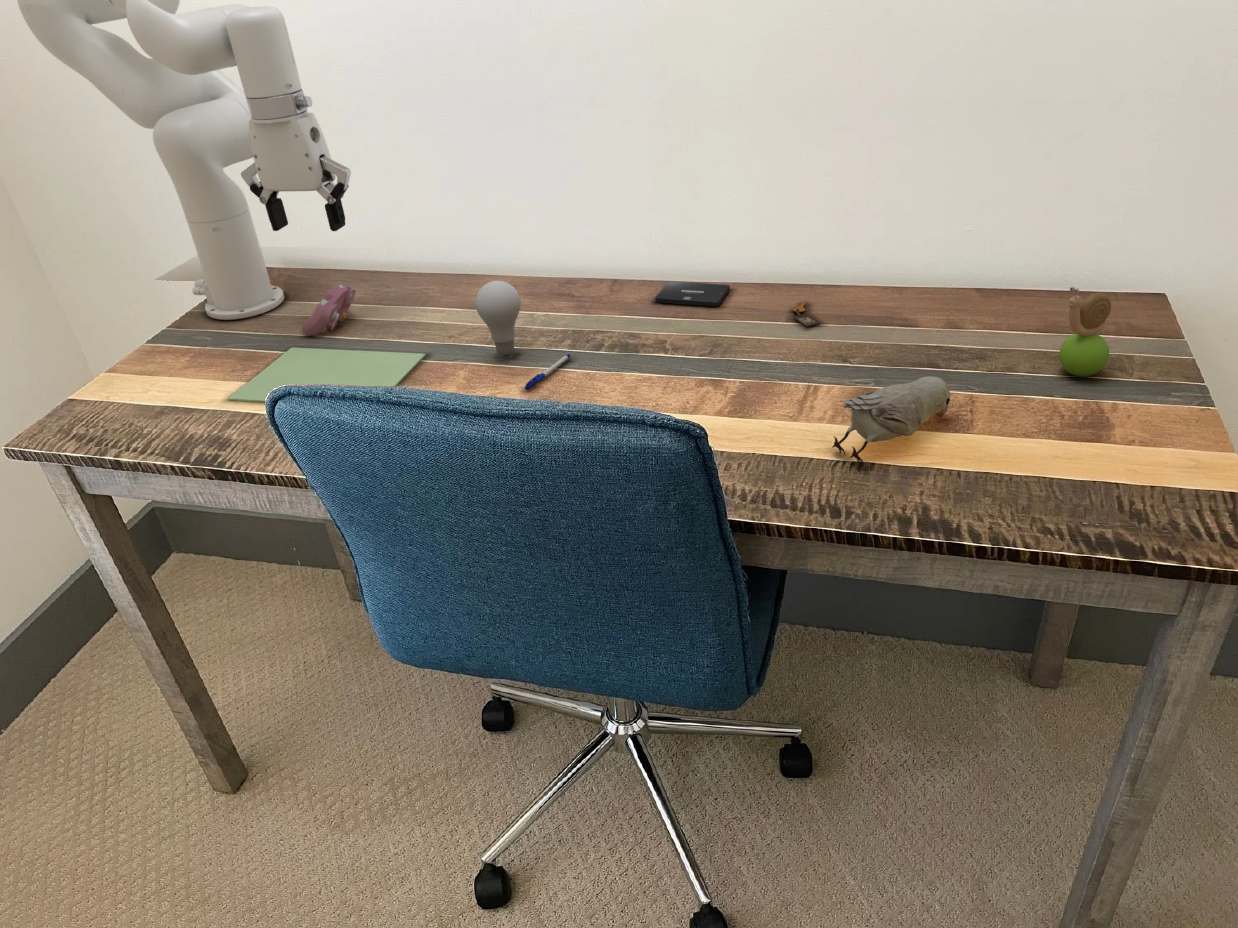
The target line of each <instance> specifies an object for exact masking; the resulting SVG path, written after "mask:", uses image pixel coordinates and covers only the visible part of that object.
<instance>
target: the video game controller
mask: <svg viewBox="0 0 1238 928" xmlns="http://www.w3.org/2000/svg"><path fill="white" fill-rule="evenodd" d="M355 296H356V289H354V288H351V287H350V286H348V285H347V286H346V285H345V286H343V285H342V284H341V283H340V284H339V285H338V286H337V287H336V286H335V287H333V288H331V289H329V290H327V291H326V292H325V293H324V295H323V298H322V299H321V301H319V303H318V304H317V306H316V308H315V310H314V311H313V313H312V314H311V315H310V316H309V317H308V318H307V319H306V320H305V321H304V323H303V324H302V332H303V334H304V335H305V336H307V337H314V336H317V335H319V334H320V333H322V332H323V331H324V330H325V329H328V330H330V331H333V330H334V329H335V328H336V326H337V323H338V321H339V322H343V321H344V319H345V318H347V315H348V314H347V313H348V311H349V309H350V307H351V306H352V304H353V302H354V300H355Z"/></svg>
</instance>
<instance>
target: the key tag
mask: <svg viewBox="0 0 1238 928" xmlns="http://www.w3.org/2000/svg"><path fill="white" fill-rule="evenodd" d="M805 306H806V302H805V301H804V302H801V303H800V305H799V306H796V307H793V308H792V312H794V313H796V314H795V315H796V316H793V320H796V321H797V322H798V323H799V324H801V325H803V326H804V327H806V328H810V327H813V326H816V325H817V326H818V325H820V324H821V322H819V321H818V320H816V319H815V318H814V317H812V316H810V315H809V314H807V313H805V314H801V313H804V312H806V308H805Z"/></svg>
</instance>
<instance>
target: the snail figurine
mask: <svg viewBox="0 0 1238 928" xmlns="http://www.w3.org/2000/svg"><path fill="white" fill-rule="evenodd" d="M1069 291H1070V295H1071V296H1070V297H1069V299H1068V306H1069V309H1068V320H1069V321H1068V322H1069V326H1070V329H1071V331H1072V332H1073V333H1072V334H1071V335H1069V336H1068V337H1066V338H1065V340H1064V341H1063V342H1062V344H1061V345H1060V348H1059V352H1058V356H1059V362H1060V365H1061V366H1062V367H1063V369H1064V370H1065V371H1066V372H1067V373H1069V374H1071V375H1073V376H1076V377H1090V376H1094V375H1096V374H1097V373H1099V372H1101V371H1102V370H1103V369H1104V368H1105V366H1106V365H1107V363H1108V361H1109V358H1110V348H1109V345H1108V342H1107V341H1106V340H1105V338H1104V337H1102V336H1101V335H1100V334H1098V333H1099V332H1100V331H1101V330H1102V329H1103V328H1104V327H1105V325H1106V323H1107V319H1108V318H1109V316H1110V314H1111V310H1112V301H1111V298H1110V297H1109V295H1107V294H1106V293H1103V292H1096V293H1093V294H1091V295H1089V296H1087V297H1086V298H1085V299H1084V300H1083V301H1082V297H1081V296H1079V295H1077V294H1079V293H1080V288H1078V287H1077V288H1075V286H1070V287H1069ZM1073 292H1074V293H1075V295H1072V293H1073Z"/></svg>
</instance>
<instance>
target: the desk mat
mask: <svg viewBox="0 0 1238 928" xmlns="http://www.w3.org/2000/svg"><path fill="white" fill-rule="evenodd" d="M426 355H427V354H426V353H418V352H417V353H416V352H399V351H398V352H397V351H378V350H376V351H375V350H353V349H336V348H335V349H334V348H313V347H312V348H311V347H290V348H289V349H288V350H287V351H285V352H284V353H282V354H281V355H280V356H279V357H277V358H276V359H275V360H274V361H272V362H271V363H270V364H269V365H268V366H266V367H265V368H264V369H263V370H261V371H260V372H259V373H258V374H257V375H255V376H253V377H252V378H251V379H250V380H249V381H248V382H246V383H245V384H244V385H243V386H242V387H240V388H239V389H238V390H236V392H234V393H233V394H232V395H230V396H229V397H228V401H236V402H237V401H239V402H251V403H266V402H265V398H266V397H267V395H268V393H270V391H272V390H273V389H274V388H278V387H279V386H283V385H288V384H345V385H370V386H396V387H397V386H398V385H399V384H400V383H401V382H402V381H403V380H404V379H405V378H406V377H407V376H408V374H409V373H410V372H411V371H413V370H414V368H415V367H416V366H418V365H419V363H421V362H422V360H423V359H424V358H426V357H427V356H426Z"/></svg>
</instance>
